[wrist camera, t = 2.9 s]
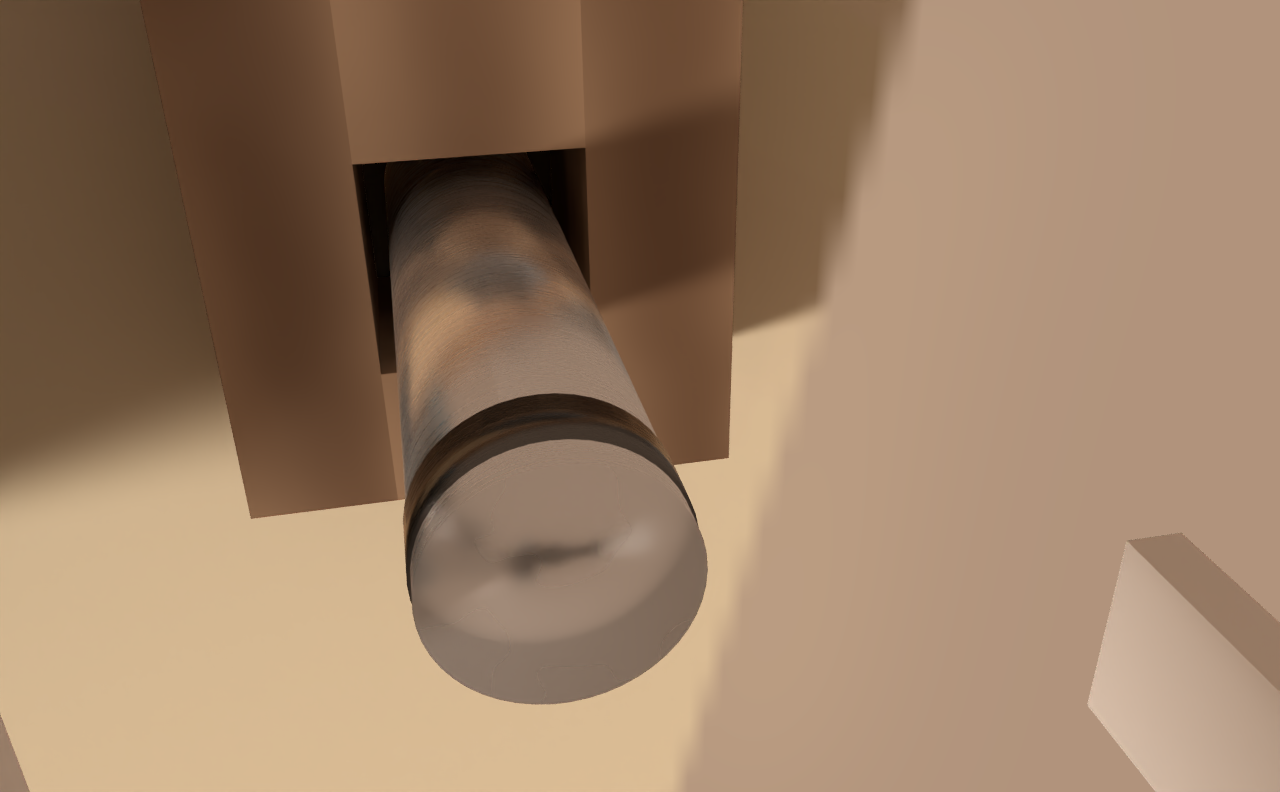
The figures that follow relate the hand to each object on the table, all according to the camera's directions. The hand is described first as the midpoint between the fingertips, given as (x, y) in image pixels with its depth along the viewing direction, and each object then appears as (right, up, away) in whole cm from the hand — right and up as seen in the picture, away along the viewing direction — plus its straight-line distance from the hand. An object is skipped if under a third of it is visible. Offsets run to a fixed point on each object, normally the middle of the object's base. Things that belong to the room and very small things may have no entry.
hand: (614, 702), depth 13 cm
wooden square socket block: (-5, +9, +17) cm, 20 cm away
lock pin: (-5, +9, +17) cm, 20 cm away
